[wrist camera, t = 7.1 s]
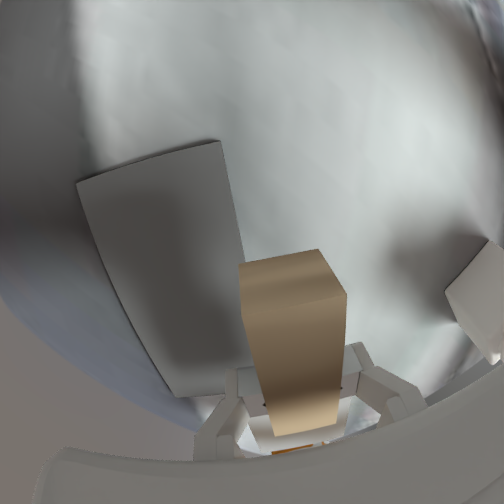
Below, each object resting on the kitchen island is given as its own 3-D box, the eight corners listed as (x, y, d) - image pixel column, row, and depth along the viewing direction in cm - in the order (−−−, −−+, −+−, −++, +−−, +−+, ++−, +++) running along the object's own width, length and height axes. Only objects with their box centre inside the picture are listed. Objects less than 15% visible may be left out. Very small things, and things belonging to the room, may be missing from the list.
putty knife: (198, 271, 10) (189, 323, 7) (354, 241, 10) (391, 282, 7) (260, 441, 17) (264, 476, 14) (340, 425, 17) (349, 458, 14)
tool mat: (80, 181, 14) (75, 183, 14) (220, 140, 14) (220, 141, 14) (176, 392, 23) (176, 397, 22) (271, 381, 23) (272, 386, 22)
